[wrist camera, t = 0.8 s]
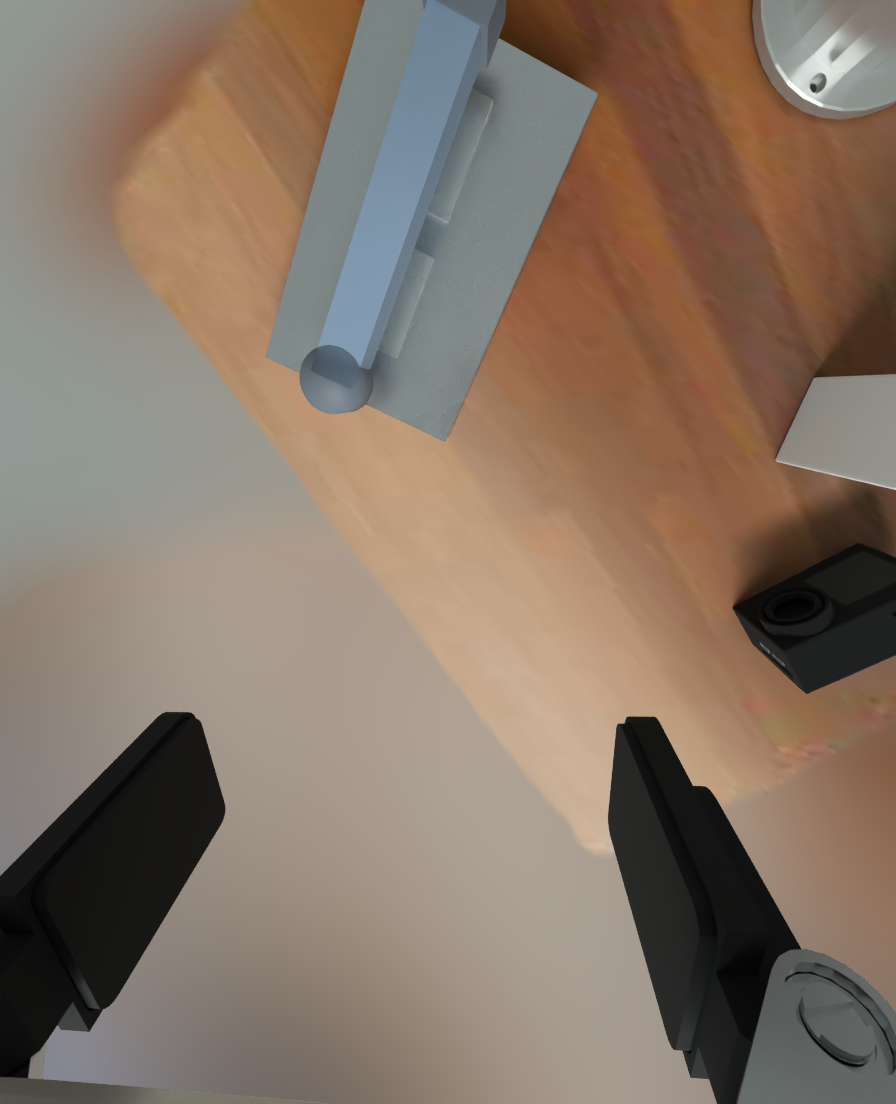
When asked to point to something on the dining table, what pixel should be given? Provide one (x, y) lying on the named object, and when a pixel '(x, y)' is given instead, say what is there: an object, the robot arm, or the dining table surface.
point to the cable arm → (400, 196)
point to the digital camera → (827, 618)
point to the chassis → (433, 215)
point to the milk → (846, 429)
